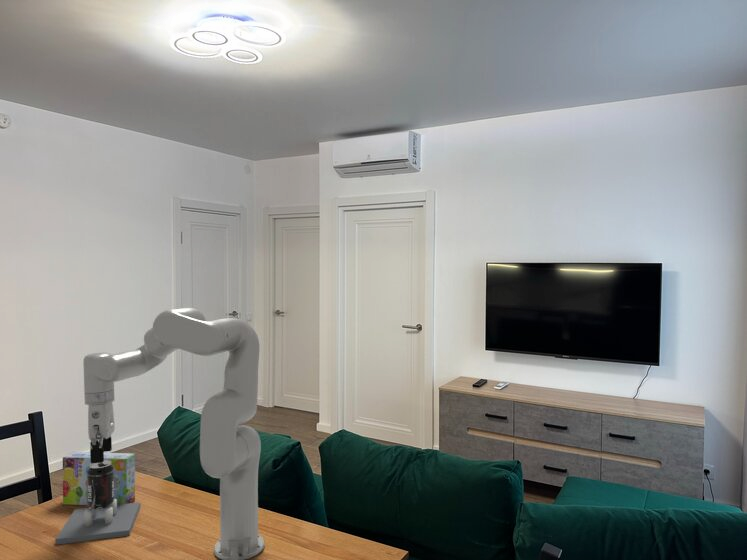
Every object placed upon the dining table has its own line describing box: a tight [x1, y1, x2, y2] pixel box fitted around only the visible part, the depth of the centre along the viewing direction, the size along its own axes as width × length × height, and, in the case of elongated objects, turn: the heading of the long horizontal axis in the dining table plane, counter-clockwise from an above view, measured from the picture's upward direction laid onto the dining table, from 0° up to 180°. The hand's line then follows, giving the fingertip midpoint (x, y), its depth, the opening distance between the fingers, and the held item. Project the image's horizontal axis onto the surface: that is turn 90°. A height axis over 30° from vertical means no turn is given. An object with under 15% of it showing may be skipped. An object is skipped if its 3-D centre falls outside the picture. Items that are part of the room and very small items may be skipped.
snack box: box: [62, 451, 136, 506], centre depth 163 cm, size 21×6×15 cm, turn 84°
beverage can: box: [87, 460, 114, 509], centre depth 149 cm, size 7×7×12 cm
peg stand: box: [54, 499, 141, 545], centre depth 149 cm, size 18×18×6 cm
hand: (101, 456), depth 149 cm, fingers open, 9 cm apart
